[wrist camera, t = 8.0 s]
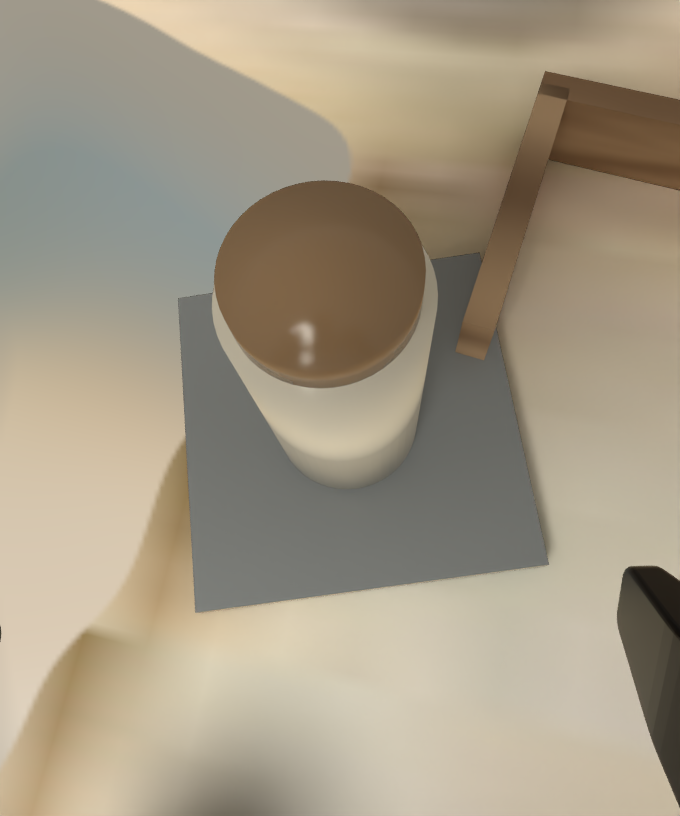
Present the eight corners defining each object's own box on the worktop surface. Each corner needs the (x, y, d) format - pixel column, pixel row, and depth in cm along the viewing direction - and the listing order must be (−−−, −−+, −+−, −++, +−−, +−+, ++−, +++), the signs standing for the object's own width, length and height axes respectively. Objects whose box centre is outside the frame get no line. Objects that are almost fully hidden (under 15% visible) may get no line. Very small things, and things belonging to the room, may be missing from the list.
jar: (442, 446, 21) (489, 310, 12) (318, 515, 21) (264, 430, 11) (373, 334, 23) (366, 131, 13) (255, 396, 22) (161, 233, 13)
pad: (544, 566, 21) (549, 564, 20) (200, 612, 21) (195, 612, 20) (477, 261, 24) (479, 252, 23) (182, 305, 24) (177, 298, 24)
